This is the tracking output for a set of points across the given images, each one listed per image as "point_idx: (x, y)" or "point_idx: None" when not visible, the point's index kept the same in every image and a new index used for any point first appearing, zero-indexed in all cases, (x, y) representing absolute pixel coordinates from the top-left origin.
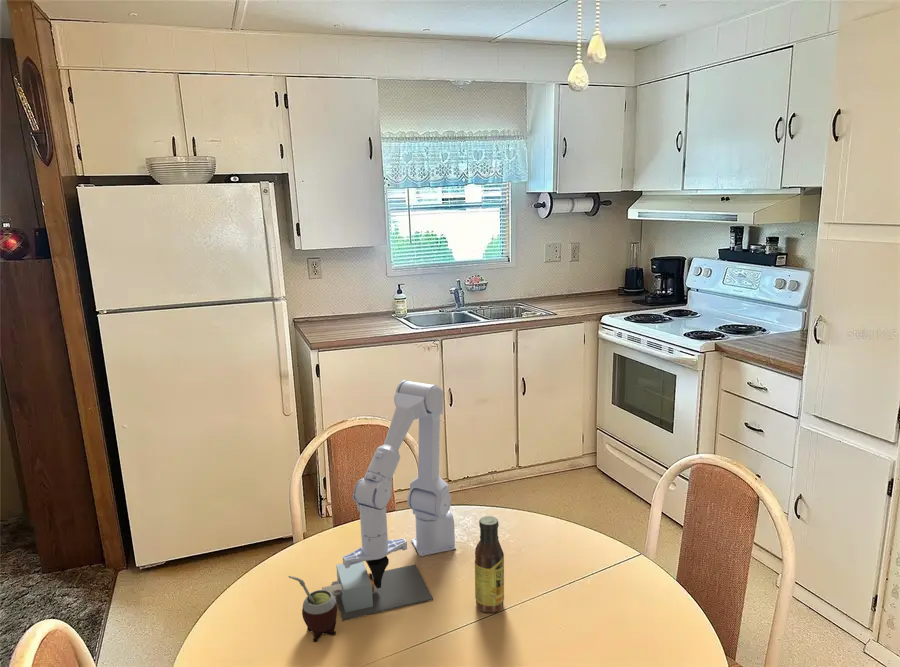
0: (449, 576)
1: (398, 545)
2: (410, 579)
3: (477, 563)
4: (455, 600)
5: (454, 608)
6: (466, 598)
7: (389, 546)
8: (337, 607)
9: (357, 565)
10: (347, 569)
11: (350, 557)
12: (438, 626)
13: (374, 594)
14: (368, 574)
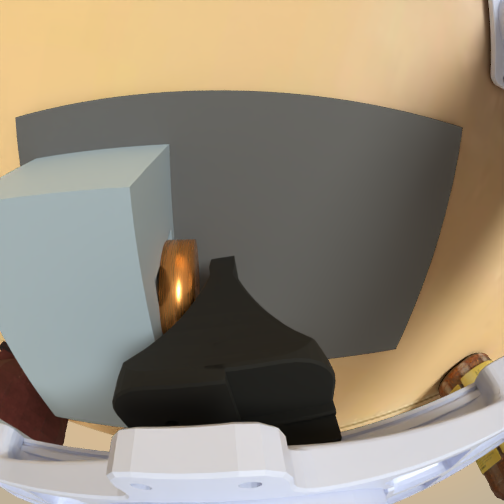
0: (492, 251)
1: (442, 479)
2: (398, 230)
3: (489, 472)
4: (431, 353)
5: (409, 376)
6: (452, 349)
7: (394, 481)
8: (59, 433)
9: (83, 266)
10: (21, 290)
11: (31, 496)
12: (340, 416)
13: (204, 281)
14: (171, 326)
